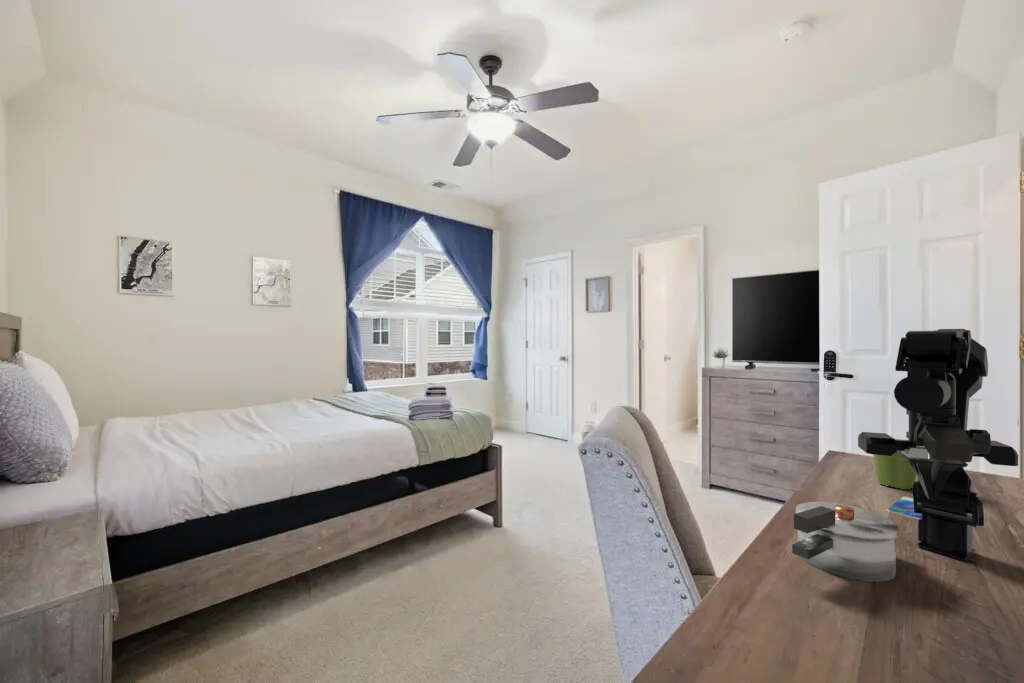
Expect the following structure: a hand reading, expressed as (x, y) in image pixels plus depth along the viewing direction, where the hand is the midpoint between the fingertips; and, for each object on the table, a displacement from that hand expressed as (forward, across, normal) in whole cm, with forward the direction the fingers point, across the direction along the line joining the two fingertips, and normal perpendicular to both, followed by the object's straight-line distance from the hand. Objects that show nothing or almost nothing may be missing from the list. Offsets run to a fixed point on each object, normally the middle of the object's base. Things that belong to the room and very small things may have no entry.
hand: (931, 498), depth 74 cm
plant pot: (+14, +11, +55) cm, 58 cm away
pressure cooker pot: (+13, -13, -2) cm, 19 cm away
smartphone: (+14, +9, +36) cm, 40 cm away
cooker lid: (+6, -14, -2) cm, 15 cm away
